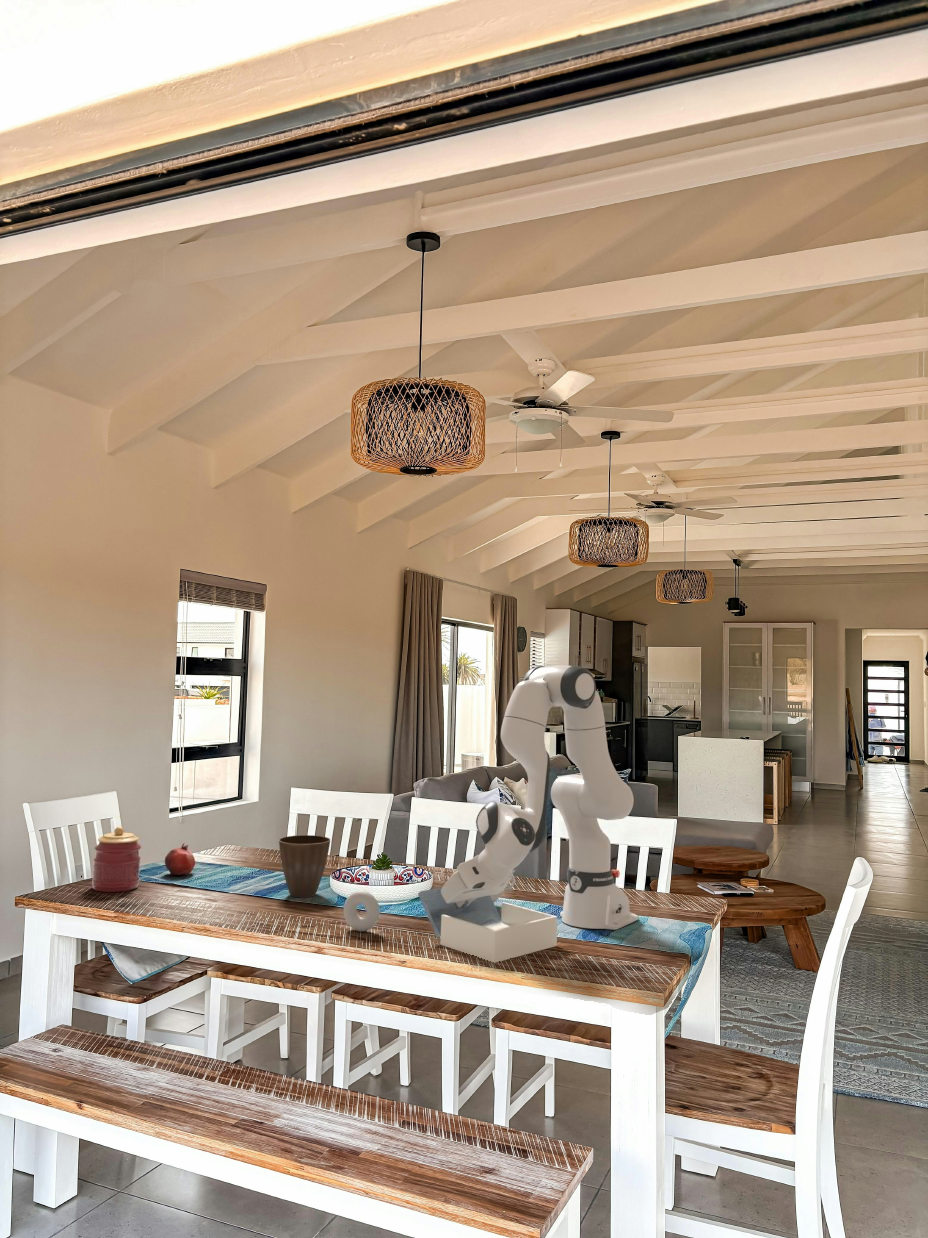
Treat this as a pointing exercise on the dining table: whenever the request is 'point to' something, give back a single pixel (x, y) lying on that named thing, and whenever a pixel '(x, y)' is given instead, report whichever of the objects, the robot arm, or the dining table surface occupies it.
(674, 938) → the dining table surface
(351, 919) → the donut
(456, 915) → the grey rectangular panel
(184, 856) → the fruit
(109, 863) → the canister
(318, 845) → the plant pot
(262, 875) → the dining table surface
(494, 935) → the drawer box
